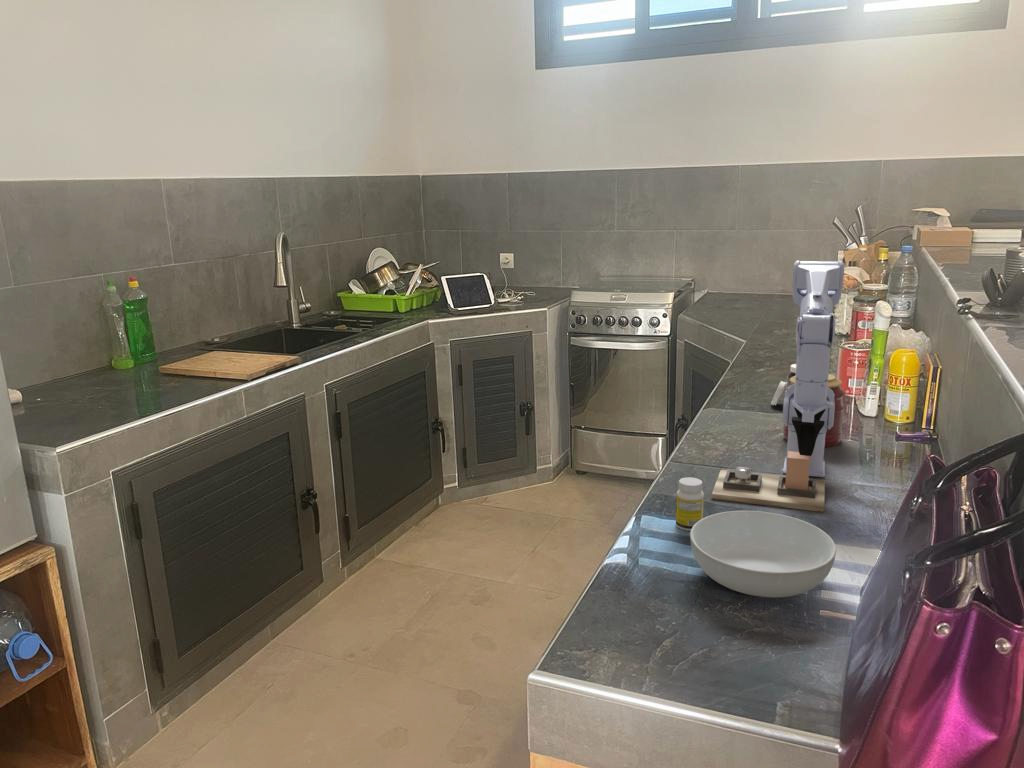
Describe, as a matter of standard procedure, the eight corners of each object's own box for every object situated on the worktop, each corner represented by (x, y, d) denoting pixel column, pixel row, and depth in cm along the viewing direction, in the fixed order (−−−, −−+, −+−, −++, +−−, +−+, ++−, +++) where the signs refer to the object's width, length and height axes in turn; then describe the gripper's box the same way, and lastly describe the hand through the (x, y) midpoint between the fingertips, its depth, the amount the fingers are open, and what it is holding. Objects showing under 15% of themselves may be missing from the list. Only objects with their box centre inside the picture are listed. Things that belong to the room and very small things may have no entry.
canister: (842, 434, 186) (848, 362, 182) (839, 451, 175) (846, 374, 171) (785, 428, 192) (789, 358, 187) (778, 444, 180) (783, 369, 176)
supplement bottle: (683, 518, 141) (685, 474, 139) (707, 524, 138) (709, 480, 136) (670, 527, 137) (672, 482, 135) (695, 534, 134) (697, 488, 132)
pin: (735, 480, 156) (736, 466, 155) (751, 482, 155) (752, 467, 154) (733, 485, 153) (734, 471, 152) (749, 487, 152) (750, 472, 151)
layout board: (720, 474, 162) (721, 464, 162) (824, 485, 155) (825, 474, 155) (711, 498, 150) (712, 487, 149) (823, 512, 142) (824, 500, 142)
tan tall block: (786, 485, 153) (788, 451, 151) (807, 487, 151) (810, 453, 150) (784, 492, 149) (787, 457, 148) (807, 495, 148) (809, 459, 146)
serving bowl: (661, 581, 119) (662, 539, 117) (733, 537, 133) (735, 500, 131) (791, 633, 104) (795, 586, 103) (856, 578, 118) (860, 536, 117)
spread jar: (822, 414, 203) (826, 370, 201) (778, 414, 204) (781, 371, 201) (806, 402, 215) (809, 360, 212) (765, 402, 215) (767, 361, 213)
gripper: (834, 389, 137) (828, 463, 140) (835, 371, 150) (829, 439, 153) (791, 386, 139) (787, 459, 143) (796, 369, 153) (791, 435, 156)
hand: (806, 448), depth 148 cm, fingers open, 7 cm apart
